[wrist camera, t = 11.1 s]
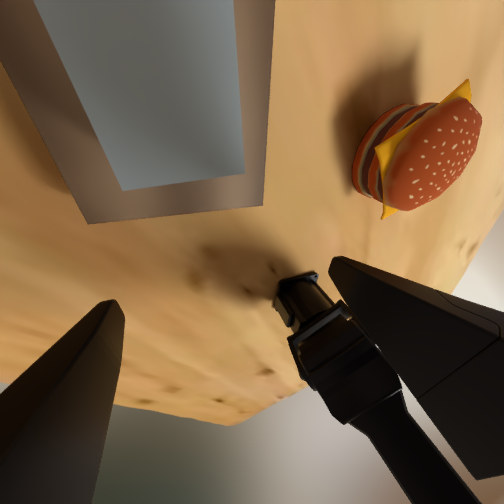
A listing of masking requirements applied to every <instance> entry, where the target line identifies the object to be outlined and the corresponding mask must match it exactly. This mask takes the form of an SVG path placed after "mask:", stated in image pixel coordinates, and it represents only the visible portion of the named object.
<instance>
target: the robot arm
mask: <svg viewBox="0 0 504 504" xmlns="http://www.w3.org/2000/svg"><path fill="white" fill-rule="evenodd" d="M328 274H329V276H330V278H331V279H332V281H333V283H334V284H335V286H336V288H337V289H338V291H339V293H340V294H341V296H342V298H343V299H344V301H345V302H346V304H347V305H348V306H347V305H346V304H345V303H344V302H343V301H342V300H341V299H340V300H339V301H337V303H336V304H335V303H334V302H333V301H332V300H331V299H330V298H329V297H328V295H327V294H326V293H325V292H324V291H323V290H322V289H321V287H320V286H319V285H318V284H317V283H316V282H317V279H318V276H319V275H318V274H317V273H311V274H307V275H302V276H298V277H294V278H289V279H285V280H281V281H280V282H279V285H278V291H277V295H276V300H275V310H276V311H278V312H279V314H280V316H281V318H282V320H283V321H284V323H285V325H286V327H288V328H289V327H291V329H292V331H293V333H294V334H293V335H291V336H289V337H287V340H288V343H289V344H288V345H289V347H290V350H291V352H292V355H293V358H294V360H295V363H296V365H297V368H298V372H299V376H300V378H301V379H302V380H304V381H306V382H307V383H308V385H309V386H310V387H311V388H312V389H313V390H314V391H318V393H319V394H320V396H321V397H322V399H323V400H324V402H325V404H326V406H327V407H328V409H329V411H330V413H331V414H332V416H333V417H335V418H336V419H337V420H338V421H339V422H340V423H342V424H343V425H345V424H347V423H349V424H350V425H352V426H353V427H355V428H356V429H357V430H359V431H360V432H362V433H363V434H365V435H366V436H367V437H368V438H369V439H370V441H371V442H372V444H373V445H374V447H375V448H376V450H377V451H378V453H379V454H380V456H381V457H382V459H383V460H384V462H385V464H386V465H387V467H388V468H389V470H390V471H391V473H392V474H393V476H394V477H395V479H396V480H397V482H398V483H399V485H400V487H401V488H402V489H403V491H404V493H405V494H406V496H407V497H408V499H409V500H410V502H411V503H412V504H482V503H481V502H480V501H479V499H478V498H477V497H476V496H475V494H474V493H473V492H472V491H471V489H470V488H469V487H468V486H467V484H466V483H465V482H464V481H463V480H462V478H461V477H460V476H459V474H458V473H457V472H456V471H455V470H454V469H453V467H452V466H451V465H450V463H449V462H448V461H447V460H446V458H445V457H444V456H443V455H442V454H441V452H440V451H439V450H438V448H437V447H436V446H435V445H434V443H433V442H432V441H431V440H430V438H428V436H427V435H426V434H425V432H424V431H423V430H422V429H421V427H420V426H419V425H418V424H417V422H416V421H415V420H414V419H413V417H412V416H411V415H410V414H409V412H408V410H407V407H406V403H405V400H404V396H403V393H402V386H401V383H400V379H399V377H398V375H399V376H400V378H401V379H402V381H403V382H404V383H405V384H406V386H407V387H408V389H409V390H410V391H411V393H412V394H413V396H414V397H415V398H416V399H417V401H418V403H419V404H420V405H421V407H422V408H423V410H424V411H425V412H426V414H427V415H428V416H429V418H430V419H431V420H432V422H433V423H434V425H435V426H436V427H437V429H438V430H439V431H440V433H441V434H442V436H443V437H444V438H445V440H446V441H447V442H448V444H449V445H450V446H451V448H452V449H453V451H454V452H455V453H456V455H457V456H458V457H459V459H460V460H461V461H462V463H463V464H464V466H465V467H466V468H467V470H468V471H469V472H470V473H471V475H472V476H473V477H474V478H475V479H476V480H481V479H486V478H491V477H496V476H501V475H504V312H501V311H498V310H495V309H492V308H489V307H486V306H483V305H479V304H476V303H473V302H470V301H467V300H464V299H461V298H459V297H455V296H453V295H450V294H447V293H444V292H442V291H439V290H434V289H433V288H430V287H428V286H425V285H422V284H419V283H416V282H414V281H411V280H408V279H405V278H402V277H400V276H397V275H394V274H391V273H389V272H386V271H383V270H380V269H377V268H375V267H372V266H369V265H366V264H364V263H361V262H358V261H355V260H352V259H350V258H347V257H344V256H337V257H334V258H333V259H332V261H331V264H330V267H329V270H328ZM348 318H349V320H348V321H347V320H346V319H348ZM124 327H125V316H124V313H123V311H122V309H121V308H120V306H119V304H118V302H117V301H116V300H115V299H111V300H106V301H102V302H100V303H98V304H97V305H96V306H95V307H94V308H93V309H92V310H91V311H90V312H88V313H87V314H86V315H85V316H84V317H83V318H82V319H81V320H80V321H79V322H78V323H77V324H75V325H74V326H73V327H72V328H71V329H70V330H69V331H68V332H67V333H66V334H65V335H64V336H62V337H61V338H60V339H59V340H58V341H57V342H56V343H55V344H54V345H53V346H52V347H51V348H49V349H48V350H47V351H46V352H45V353H44V354H43V355H42V356H41V357H40V358H39V359H37V360H36V361H35V362H34V363H33V364H32V365H31V366H30V367H29V368H28V369H27V370H26V371H24V372H23V373H22V374H21V375H20V376H19V377H18V378H17V379H16V380H15V381H14V382H13V383H11V384H10V385H9V386H8V387H7V388H6V389H5V390H4V391H3V392H2V393H1V394H0V504H92V501H93V496H94V491H95V486H96V482H97V477H98V473H99V468H100V463H101V458H102V454H103V449H104V444H105V439H106V434H107V429H108V425H109V420H110V415H111V410H112V406H113V401H114V396H115V392H116V387H117V382H118V377H119V372H120V367H121V360H122V350H123V338H124ZM379 349H380V350H381V351H380V350H379Z"/></svg>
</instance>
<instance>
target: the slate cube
mask: <svg viewBox="0 0 504 504" xmlns="http://www.w3.org/2000/svg"><path fill="white" fill-rule="evenodd" d="M33 1H34V3H35V5H36V7H37V10H38V12H39V14H40V16H41V18H42V20H43V22H44V24H45V27H46V29H47V31H48V33H49V35H50V37H51V39H52V42H53V44H54V46H55V48H56V50H57V52H58V54H59V56H60V59H61V61H62V63H63V65H64V67H65V69H66V71H67V74H68V76H69V78H70V80H71V82H72V84H73V86H74V88H75V91H76V93H77V95H78V97H79V99H80V101H81V103H82V105H83V108H84V110H85V112H86V114H87V116H88V118H89V120H90V123H91V125H92V127H93V129H94V131H95V133H96V135H97V137H98V140H99V142H100V144H101V146H102V148H103V150H104V152H105V155H106V157H107V159H108V161H109V163H110V165H111V167H112V169H113V172H114V174H115V176H116V178H117V180H118V182H119V184H120V187H121V189H122V191H126V190H133V189H140V188H147V187H154V186H161V185H168V184H175V183H182V182H189V181H196V180H203V179H210V178H217V177H225V176H232V175H239V174H245V162H244V148H243V133H242V119H241V104H240V90H239V75H238V61H237V47H236V32H235V18H234V3H233V0H33Z"/></svg>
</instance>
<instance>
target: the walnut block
mask: <svg viewBox="0 0 504 504" xmlns="http://www.w3.org/2000/svg"><path fill="white" fill-rule="evenodd" d="M233 3H234V18H235V32H236V47H237V61H238V75H239V90H240V104H241V119H242V133H243V148H244V162H245V174H239V175H232V176H225V177H217V178H210V179H203V180H196V181H189V182H182V183H175V184H168V185H161V186H154V187H147V188H140V189H133V190H126V191H122V189H121V187H120V184H119V182H118V180H117V178H116V176H115V174H114V172H113V169H112V167H111V165H110V163H109V161H108V159H107V157H106V155H105V152H104V150H103V148H102V146H101V144H100V142H99V140H98V137H97V135H96V133H95V131H94V129H93V127H92V125H91V123H90V120H89V118H88V116H87V114H86V112H85V110H84V108H83V105H82V103H81V101H80V99H79V97H78V95H77V93H76V91H75V88H74V86H73V84H72V82H71V80H70V78H69V76H68V74H67V71H66V69H65V67H64V65H63V63H62V61H61V59H60V56H59V54H58V52H57V50H56V48H55V46H54V44H53V42H52V39H51V37H50V35H49V33H48V31H47V29H46V27H45V24H44V22H43V20H42V18H41V16H40V14H39V12H38V10H37V7H36V5H35V3H34V1H33V0H0V60H1V62H2V64H3V66H4V68H5V70H6V71H7V73H8V75H9V77H10V79H11V81H12V83H13V85H14V86H15V88H16V90H17V92H18V94H19V96H20V98H21V100H22V102H23V103H24V105H25V107H26V109H27V111H28V113H29V115H30V117H31V118H32V120H33V122H34V124H35V126H36V128H37V130H38V132H39V133H40V135H41V137H42V139H43V141H44V143H45V145H46V147H47V148H48V150H49V152H50V154H51V156H52V158H53V160H54V162H55V164H56V165H57V167H58V169H59V171H60V173H61V175H62V177H63V179H64V180H65V182H66V184H67V186H68V188H69V190H70V192H71V194H72V195H73V197H74V199H75V201H76V203H77V205H78V207H79V209H80V210H81V212H82V214H83V216H84V218H85V220H86V222H87V224H96V223H106V222H115V221H124V220H134V219H143V218H152V217H162V216H171V215H180V214H190V213H199V212H208V211H218V210H227V209H236V208H246V207H255V206H263V195H264V178H265V162H266V145H267V129H268V112H269V96H270V79H271V63H272V46H273V30H274V13H275V0H233Z"/></svg>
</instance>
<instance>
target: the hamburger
mask: <svg viewBox="0 0 504 504" xmlns="http://www.w3.org/2000/svg"><path fill="white" fill-rule="evenodd" d="M471 96H472V95H471V89H470V82H469V79H466V80H465V81H464V82H463V83H462V84H461V85H460V86H458V87H457V88H456V89H455V90H454V91H453V92H452V93H451V94H449V95H448V96H447V97H446V98H445V99H444V100H443V101H441V102H440V103H424V104H422V105H413V104H401V105H399V106H397V107H395V108H393V109H391V110H390V111H388V112H386V113H384V114H383V115H382V116H381V117H380V118H379V119H378V120H377V121H376V122H375V123H374V124H373V125H372V126H371V127H370V128H369V129H368V131H367V133H366V134H365V136H364V138H363V140H362V141H361V143H360V145H359V147H358V149H357V152H356V156H355V159H354V162H353V166H352V181H353V183H354V185H355V187H356V189H357V191H358V192H359V193H361V194H363V195H365V196H367V197H369V198H374V199H376V200H378V201H380V202H382V203H383V214H382V216H381V220H382V219H384V218H386V217H388V216H389V215H391V214H393V213H395V212H396V211H398V210H401V211H410V210H413V209H415V208H417V207H419V206H421V205H423V204H425V203H427V202H429V201H431V200H433V199H435V198H437V197H438V196H440V195H441V194H442V193H443V192H444V191H445V190H446V189H447V188H448V187H449V186H450V185H451V184H452V183H453V182H454V181H455V180H456V179H457V178H458V177H459V176H460V175H461V173H462V172H463V170H464V168H465V167H466V165H467V164H468V162H469V161H470V159H471V157H472V156H473V154H474V153H475V151H476V147H477V142H478V138H479V134H480V129H481V125H482V117H481V115H480V113H479V112H478V111H477V110H476V109H475V108H474V107H473V105H472V104H471V103H470V102H471Z"/></svg>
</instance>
